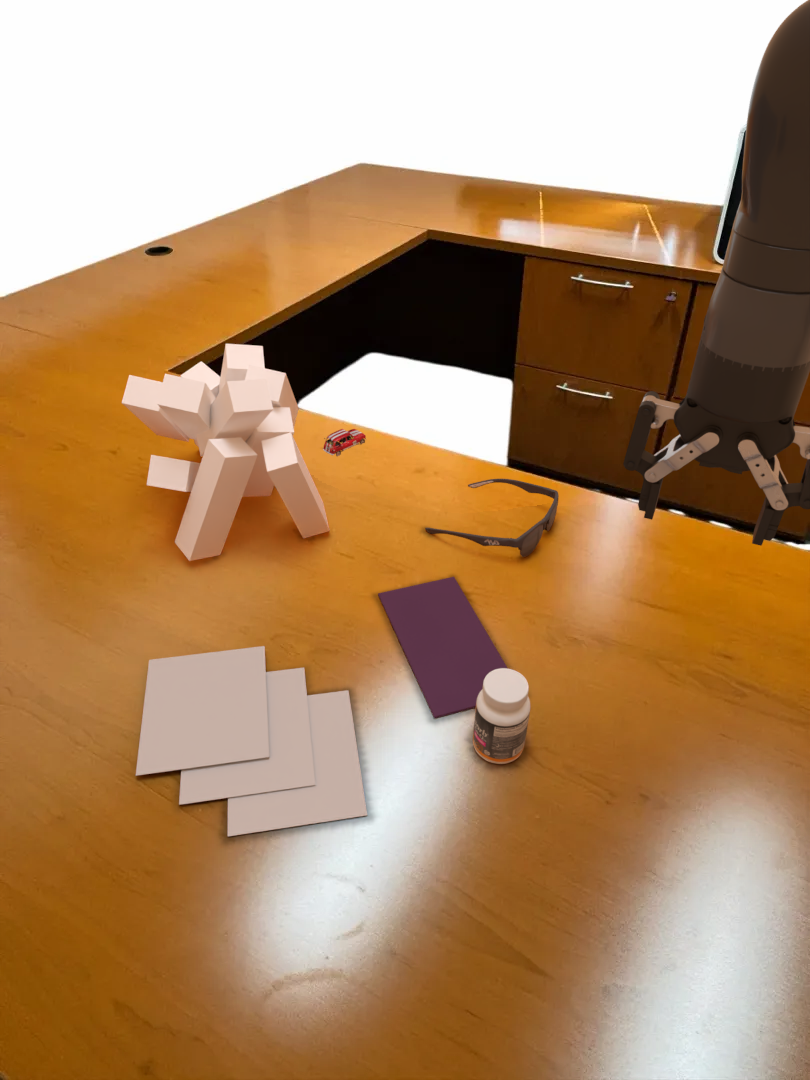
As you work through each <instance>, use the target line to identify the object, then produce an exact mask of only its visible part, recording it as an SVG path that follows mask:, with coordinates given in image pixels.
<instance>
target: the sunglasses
mask: <svg viewBox="0 0 810 1080" xmlns="http://www.w3.org/2000/svg"><path fill="white" fill-rule="evenodd" d="M494 483H498V484H499V483H501V484H508V485H512V486H514V487H518V488H520V489H522V490H523V491H525V492H527V493H529V494H537V495H538V494H539V495H543V496H546V497H549V498H552V500H553V501H552V503H551V505H550V507H549V509H548V510H547V512H546V513H545V515H544V517H543V518H542V519H540V520H539V521H538V522H537V523H535V524H534V525H533V526H531V527H530V528H529V529H527V530H526V531H525V532H524V533H522V534H521V535H520V536H518V537H517V538H512V537H510V538H509V537H498V536H487V535H480V534H473V533H467V532H460V531H453V530H447V529H441V528H433V527H425V528H424V530H425V531H426V532H427V533H429V534H431V535H439V534H440V535H443V534H444V535H449V536H453V537H458V538H463V539H466V540H469V541H472V542H474V543H475V544H478V545H480V546H483V547H510V548H513V549H514V548H515V549H518V551H519V554H520V556H521V557H522V558H526V557H528V556H530V555H531V554H532V553H533V552H534V551H535V549H536V548H537V547H538V545H539V543H540V541H541V539H542V537H543V533H544V531H546V532H549V531H550V530H551V528H552V526H553V524H554V523H555V520H556V519H555V518H556V515H557V512H558V505H559V492H558V490H555V489H552V488H550V487H546V486H542V485H537V484H534V483H530V482H525V481H521V480H517V479H511V478H490V479H484V480H481V481H477V482H472V483H469V484H467V487H468V488H471V489H477V488H480V487H482V486H486V485H490V484H494Z"/></svg>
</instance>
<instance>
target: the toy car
mask: <svg viewBox="0 0 810 1080" xmlns="http://www.w3.org/2000/svg"><path fill="white" fill-rule="evenodd" d="M323 439H324V440H325V441H324V444H323V448H322V450H323V452H325V453H327V454H329V455H330V456H334V455H335V456H336V457H339V456H341V455H342V452H345V451H346V450H348V449H350V448H352V447H355V446H357V445H363V444H366V441H367V437H366V434H365V433H363V432H362V431H360V430H358V429H356V428H352V429H349V430H346V429H343V428H340V429H339V430H336V431H333V432H332V433H330V434H328V435H327V436H326V438H325V437H324V438H323Z"/></svg>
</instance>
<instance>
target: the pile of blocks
mask: <svg viewBox="0 0 810 1080" xmlns="http://www.w3.org/2000/svg"><path fill="white" fill-rule="evenodd" d="M224 345H225V346H224V352H223V359H222V364H221V372H220V375H219V374H218V373H216V372H215V371H214V370H213V369H211V368H210V367H209V366H208V365H207V364H206V363H204V362H203V361H199V362H197V364H195V365H193V366H192V367H190V368H189V369H187V370H186V371H185V372H183V373H182V374H180V376H178V375H174V374H170V373H164V376H163V379H162V381H158V380H154V379H150V378H145V377H141V376H136V375H133V374H132V375H131V374H129V375H128V378H127V382H126V386H125V389H124V393H123V397H122V400H121V404H122V405H123V406H124V407H125V408H126V409H128V410H129V412H130V413H132V414H133V415H134V416H135V417H136V418H138V419H139V420H140V421H141V423H143V424H144V425H145V426H146V427H147V428H148V429H149V430H151V431H152V432H153V433H154V434H155V435H156V436H159V437H164V438H169V439H172V440H177V441H182V442H186V443H189V442H190V440H193V442H194V445H196V446H197V448H198V450H199V455H200V457H202V458H201V461H200V462H195V461H191V460H184V459H179V458H178V459H177V458H173V457H167V456H161V455H155V454H150V460H149V467H148V471H147V472H148V473H147V478H146V479H147V480H146V486H148V487H149V486H150V487H155V488H162V489H168V490H173V491H179V492H184V493H190V494H189V497H188V500H187V503H186V506H185V509H184V512H183V515H182V518H181V521H180V524H179V528H178V531H177V534H176V536H175V539H174V544H175V545H176V546H177V547H178V549H179V550H180V551H181V552H182V553H183V555H184V556H185V557H186V559H187V560H188V561H189V562H192V561H197V560H201V559H207V558H212V557H218V556H221V555H222V552H223V549H224V546H225V543H226V541H227V538H228V536H229V533H230V530H231V528H232V525H233V522H234V520H235V516H236V514H237V512H238V508H239V506H240V503H241V501H242V499H243V498H244V497H245V498H246V497H247V498H248V497H249V498H251V497H271V496H272V493H273V490H274V489H276V491H277V493H278V495H279V496H280V498H281V500H282V502H283V504H284V506H285V508H286V509H287V511H288V512H289V515H290V517H291V519H292V521H293V522H294V524H295V526H296V528H297V530H298V531H299V534H300V535H301V537H302V539H306V538H310V537H313V536H317V535H320V534H323V533H327V532H330V530H331V529H330V526H329V521H328V517H327V513H326V508H325V504H324V501H323V499H322V497H321V495H320V492H319V490H318V488H317V486H316V484H315V482H314V479H313V476H312V475H311V473H310V470H309V468H308V466H307V463H306V462H305V459H304V457H303V455H302V453H301V451H300V449H299V447H298V444H297V442H296V440H295V438H294V434H295V425H296V421H297V418H298V414H299V410H300V409H299V406H298V402H297V400H296V398H295V395H294V392H293V389H292V386H291V384H290V380H289V378H288V376H287V373H286V372H282V371H278V370H275V369H269V368H266V367H265V356H264V346H263V345H252V344H241V343H240V344H239V343H236V344H235V343H225V344H224Z"/></svg>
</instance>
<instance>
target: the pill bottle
mask: <svg viewBox="0 0 810 1080" xmlns="http://www.w3.org/2000/svg"><path fill="white" fill-rule="evenodd" d="M507 668H508V667H507ZM507 668H500V669H496V670H493V671H491V672H490V673H488V674H487V675H486V677H485V679H484V682H483V689H482V690H481V691H480V693H479V695H478V697H477V701H476V708H475V710H474V711H475V712H474V723H473V732H472V745H473V748H474V750H475V752H476V753H477V755H478V756H480V757H481V758H482V759H483V760H485V761H487V762H489V763H491V764H497V765H506V764H509V763H511V762H514V761H515V760H517V759H518V758H519V757H520V756H521V755H522V753H523V751H524V748H525V745H526V739H527V732H528V726H529V720H530V714H531V699H530V697H529V689H530V687H529V683H528V680H527V678H526V677H525V676H524V675H523V674H522V673H520V672H519V671H517V670H515V669H513V668H508V669H507Z"/></svg>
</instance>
